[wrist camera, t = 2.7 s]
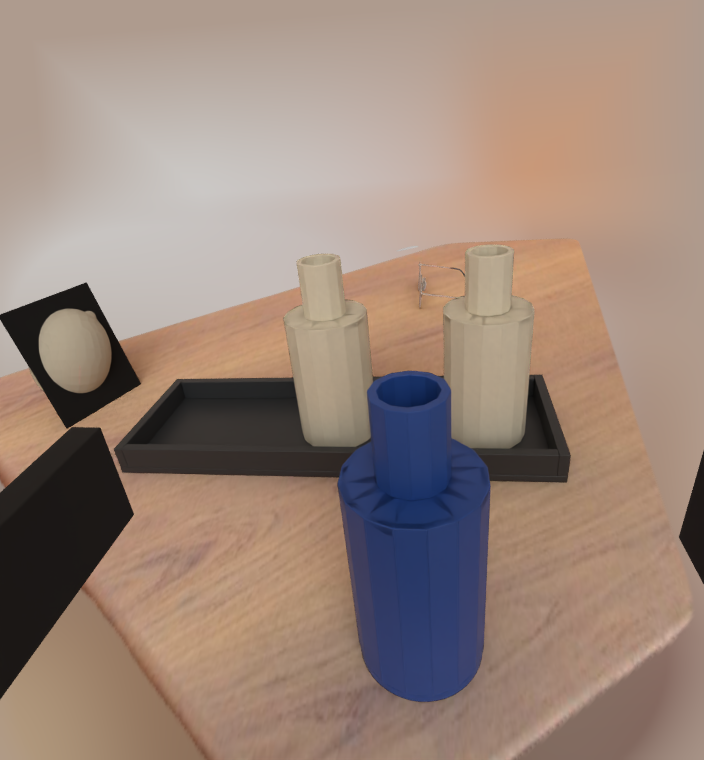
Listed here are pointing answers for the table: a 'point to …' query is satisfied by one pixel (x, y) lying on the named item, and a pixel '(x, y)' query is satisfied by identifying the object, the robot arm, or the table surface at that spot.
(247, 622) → the table surface
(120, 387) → the decorative object
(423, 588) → the blue bottle
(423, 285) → the eyeglasses
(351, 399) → the cream bottle mid
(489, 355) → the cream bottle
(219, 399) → the tray
